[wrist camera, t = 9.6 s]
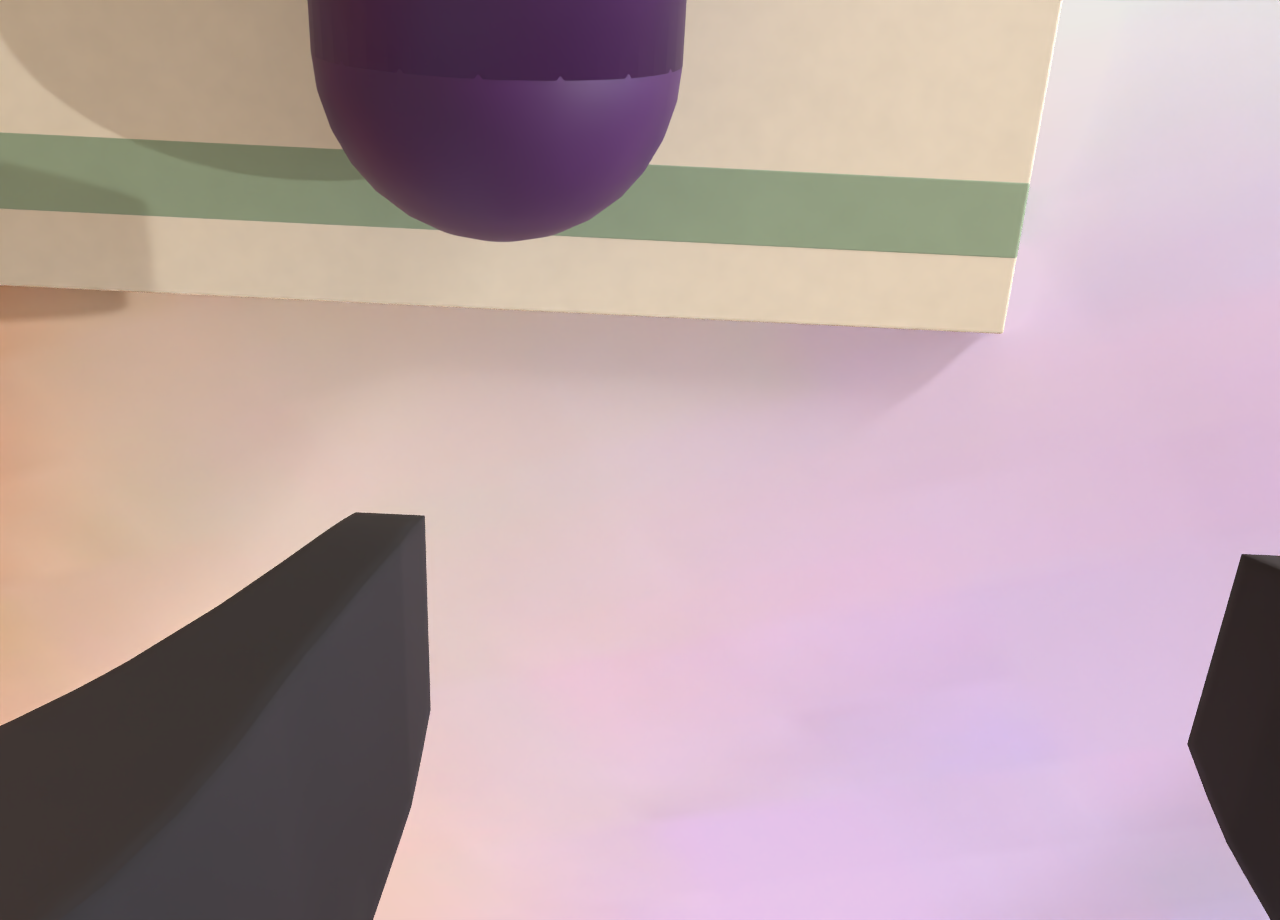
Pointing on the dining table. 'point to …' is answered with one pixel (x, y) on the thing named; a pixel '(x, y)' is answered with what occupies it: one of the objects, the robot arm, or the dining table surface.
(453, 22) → the eggplant
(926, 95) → the towel
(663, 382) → the dining table surface
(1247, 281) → the dining table surface
